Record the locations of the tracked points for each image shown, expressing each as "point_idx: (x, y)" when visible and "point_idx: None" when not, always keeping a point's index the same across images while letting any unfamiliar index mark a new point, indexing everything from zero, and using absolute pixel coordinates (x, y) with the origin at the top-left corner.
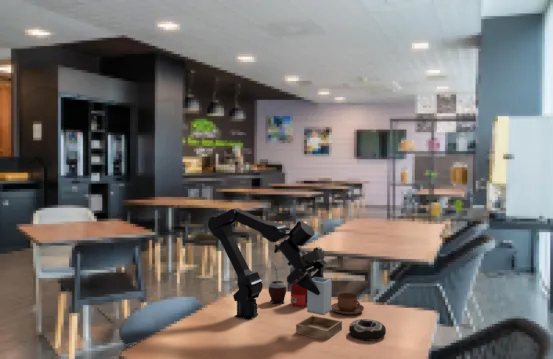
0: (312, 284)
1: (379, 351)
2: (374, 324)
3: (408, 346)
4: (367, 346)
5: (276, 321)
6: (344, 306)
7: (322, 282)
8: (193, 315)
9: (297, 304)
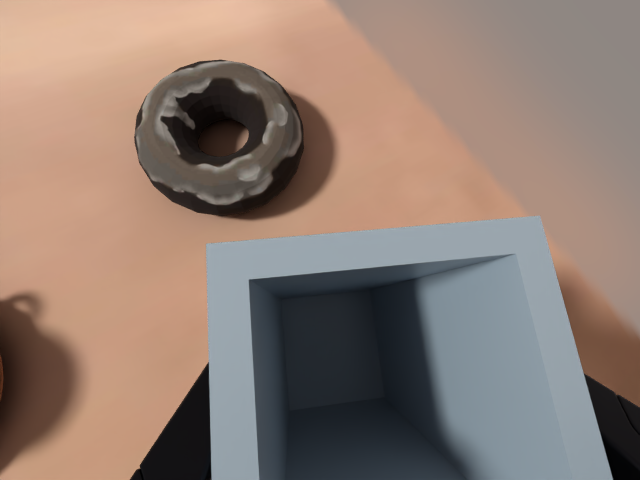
0: (633, 412)
1: (352, 58)
2: (190, 103)
3: (250, 3)
4: (338, 103)
5: None
6: None
7: (542, 254)
8: None
9: None
